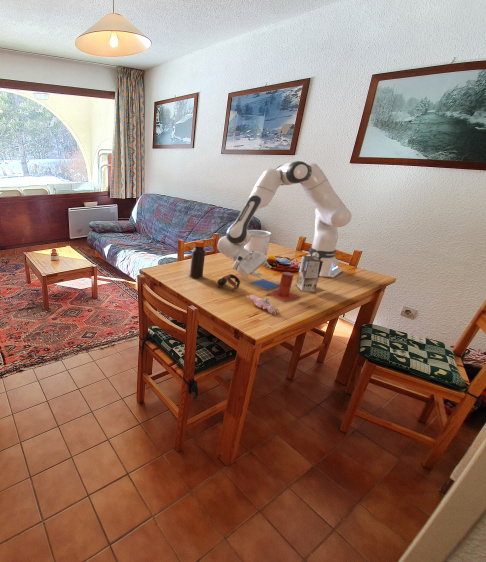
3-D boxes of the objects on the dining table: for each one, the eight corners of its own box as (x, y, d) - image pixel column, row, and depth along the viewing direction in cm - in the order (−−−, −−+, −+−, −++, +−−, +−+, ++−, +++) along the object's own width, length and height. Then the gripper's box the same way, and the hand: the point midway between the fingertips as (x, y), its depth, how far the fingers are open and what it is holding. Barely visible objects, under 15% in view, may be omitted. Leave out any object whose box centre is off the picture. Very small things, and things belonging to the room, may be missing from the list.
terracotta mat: (281, 290, 155) (281, 289, 155) (299, 296, 148) (299, 295, 148) (267, 294, 150) (267, 293, 150) (284, 302, 143) (285, 301, 143)
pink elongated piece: (279, 315, 134) (251, 297, 145) (284, 304, 131) (255, 286, 142) (271, 319, 131) (242, 300, 142) (275, 307, 128) (246, 289, 139)
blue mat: (262, 279, 168) (263, 279, 168) (279, 286, 160) (279, 285, 160) (250, 283, 163) (250, 282, 163) (267, 290, 155) (267, 289, 155)
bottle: (199, 279, 168) (203, 244, 160) (187, 276, 172) (191, 242, 164) (204, 276, 173) (208, 241, 165) (193, 273, 177) (196, 239, 169)
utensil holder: (238, 254, 209) (242, 229, 202) (260, 255, 208) (265, 229, 202) (246, 261, 195) (250, 234, 188) (269, 262, 195) (275, 235, 188)
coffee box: (315, 292, 153) (323, 261, 147) (301, 291, 154) (308, 260, 148) (308, 285, 161) (316, 255, 155) (295, 284, 162) (302, 255, 156)
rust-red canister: (281, 292, 152) (286, 271, 148) (290, 295, 148) (295, 274, 144) (275, 294, 150) (280, 273, 146) (284, 297, 146) (289, 276, 142)
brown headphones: (225, 283, 164) (235, 272, 159) (234, 296, 159) (245, 286, 154) (209, 282, 158) (219, 270, 153) (219, 296, 152) (229, 285, 147)
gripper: (251, 253, 175) (273, 267, 168) (230, 269, 165) (252, 285, 159) (256, 245, 170) (278, 259, 163) (234, 261, 160) (257, 277, 154)
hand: (265, 272), depth 161 cm, fingers open, 8 cm apart
